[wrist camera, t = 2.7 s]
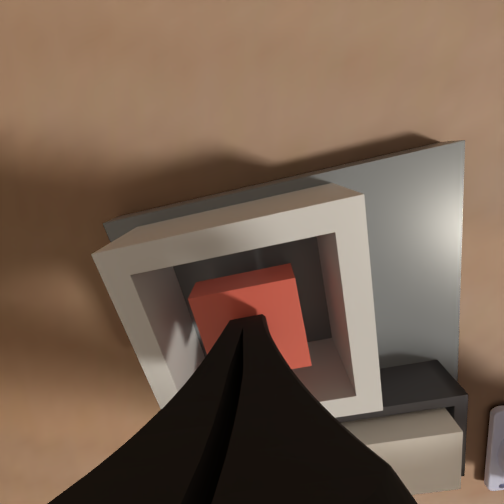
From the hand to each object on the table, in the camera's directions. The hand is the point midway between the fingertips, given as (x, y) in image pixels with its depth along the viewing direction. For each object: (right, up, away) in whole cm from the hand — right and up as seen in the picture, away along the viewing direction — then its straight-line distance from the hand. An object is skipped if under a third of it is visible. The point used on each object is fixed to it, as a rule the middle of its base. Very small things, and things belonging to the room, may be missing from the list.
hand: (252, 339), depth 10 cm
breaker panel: (+3, -2, +6) cm, 7 cm away
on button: (+7, -7, +4) cm, 10 cm away
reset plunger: (0, +1, +2) cm, 2 cm away
